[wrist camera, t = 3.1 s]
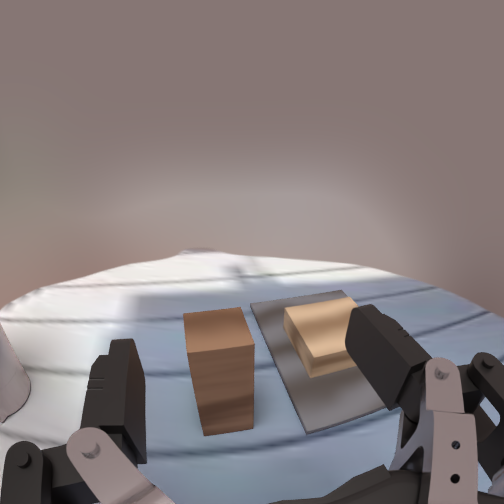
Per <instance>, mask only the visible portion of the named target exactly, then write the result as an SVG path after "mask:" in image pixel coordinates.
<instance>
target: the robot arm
mask: <svg viewBox="0 0 504 504" xmlns="http://www.w3.org/2000/svg"><path fill="white" fill-rule="evenodd" d="M345 347H346V350H347V352H348V354H349V355H350V357H351V358H352V360H353V361H354V362H355V364H356V365H357V367H358V368H359V369H360V371H361V372H362V373H363V375H364V376H365V378H366V379H367V380H368V382H369V383H370V385H371V386H372V387H373V389H374V390H375V392H376V393H377V394H378V396H379V397H380V399H381V400H382V401H383V403H384V404H385V406H386V407H387V409H388V410H389V411H391V410H393V409H395V408H397V407H401V408H402V412H401V414H400V420H399V429H398V438H397V445H396V452H395V456H394V459H393V461H392V463H391V465H390V468H389V471H388V470H387V469H386V467H385V466H384V464H383V465H381V466H379V467H376V468H374V469H372V470H370V471H367V472H365V473H363V474H360V475H358V476H355V477H353V478H352V479H350V480H349V481H348V482H346V483H345V484H343V485H342V486H340V487H339V488H337V489H336V490H334V491H333V492H331V493H329V494H328V495H326V496H324V497H321V498H311V499H298V500H282V501H278V502H273V503H269V504H504V365H503V364H502V363H501V362H500V361H499V360H498V359H497V358H496V357H494V356H493V355H491V354H489V353H485V352H481V353H477V354H476V355H475V356H474V358H473V359H472V361H471V363H470V364H468V365H461V366H456V365H455V364H454V363H453V362H451V361H450V360H448V359H445V358H432V357H431V356H430V355H429V354H428V353H427V352H426V351H425V350H424V349H423V348H422V347H421V346H420V345H419V344H418V343H417V342H416V341H415V340H414V339H413V338H412V337H411V336H409V334H408V333H407V332H406V331H405V330H403V327H402V326H401V325H400V324H399V323H398V322H397V321H396V320H394V319H392V318H390V317H389V316H387V315H385V314H382V313H381V312H380V311H379V310H378V309H377V308H376V307H375V306H374V305H372V304H369V305H364V306H360V307H355V308H353V309H352V311H351V314H350V319H349V323H348V328H347V332H346V337H345ZM87 389H88V390H87V391H86V396H85V402H84V408H83V414H82V420H81V426H80V429H79V430H78V431H76V432H75V433H73V434H72V435H71V437H70V438H69V440H68V442H67V444H65V445H62V446H58V447H53V448H49V449H44V450H40V449H39V448H38V447H37V446H36V445H35V444H33V443H31V442H28V441H21V442H18V443H15V444H14V445H13V446H11V447H10V448H9V450H8V452H7V454H6V457H5V464H4V470H3V478H2V487H1V497H0V504H94V503H98V502H101V503H102V504H175V503H174V502H173V501H172V500H171V499H170V498H169V497H167V496H166V495H165V494H164V493H163V492H162V491H161V490H160V489H159V488H158V487H156V486H155V485H153V484H152V483H151V482H150V481H149V480H148V479H147V478H146V477H145V476H144V475H143V474H142V473H141V472H140V471H139V470H138V466H137V464H147V456H146V426H145V377H144V372H143V368H142V365H141V362H140V359H139V355H138V352H137V349H136V345H135V342H134V340H133V339H117V340H112V341H111V344H110V349H109V354H108V355H99V357H98V358H97V359H96V361H95V362H94V363H93V365H92V366H91V371H90V376H89V381H88V386H87ZM29 393H30V380H29V377H28V376H27V374H26V372H25V371H24V369H23V367H22V365H21V363H20V362H19V360H18V358H17V356H16V354H15V352H14V350H13V348H12V346H11V344H10V342H9V340H8V338H7V336H6V334H5V332H4V330H3V328H2V326H1V323H0V422H4V420H5V419H6V417H7V416H9V415H11V414H13V413H14V412H16V411H17V410H18V409H20V408H21V406H22V405H23V404H24V403H25V401H26V400H27V398H28V395H29ZM485 397H486V398H487V399H488V400H489V401H490V403H491V404H492V405H493V406H494V407H495V409H496V410H497V411H498V413H499V414H500V422H499V424H498V426H495V424H494V423H493V422H492V420H491V419H490V418H489V417H488V415H487V414H486V413H485V412H484V410H483V409H482V408H481V407H480V403H481V402H482V400H483V399H484V398H485ZM478 462H479V463H480V465H481V466H482V468H483V469H484V471H485V472H486V474H487V475H488V477H489V478H490V480H491V481H492V486H490V487H489V489H488V493H484V492H480V491H477V489H478Z"/></svg>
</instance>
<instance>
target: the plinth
mask: <svg viewBox="0 0 504 504" xmlns="http://www.w3.org/2000/svg"><path fill="white" fill-rule="evenodd" d="M250 307H251V309H252V311H253V314H254V316H255V318H256V321H257V323H258V326H259V328H260V330H261V333H262V335H263V337H264V340H265V342H266V344H267V346H268V349H269V351H270V353H271V356H272V358H273V360H274V363H275V365H276V367H277V369H278V372H279V374H280V376H281V379H282V381H283V383H284V385H285V388H286V390H287V392H288V394H289V397H290V399H291V401H292V403H293V406H294V408H295V410H296V412H297V415H298V417H299V419H300V421H301V423H302V426H303V428H304V430H305V432H306V434H310V433H314V432H317V431H320V430H324V429H327V428H330V427H334V426H337V425H340V424H343V423H346V422H349V421H352V420H354V419H357V418H360V417H363V416H365V415H368V414H371V413H373V412H376V411H378V410H381V409H383V408H386V406H385V404H384V403H383V401H382V400H381V399H380V397H379V396H378V394H377V393H376V392H375V390H374V389H373V387H372V386H371V385H370V383H369V382H368V380H367V379H366V378H365V376H364V375H363V373H362V372H361V371H360V369H359V368H358V367H357V365H356V364H355V362H354V361H353V360H352V358H351V357H350V355H349V354H348V352H347V350H346V347H345V337H346V332H347V328H348V323H349V319H350V314H351V311H352V309H353V308H355V307H358V305H357V304H356V303H355V302H354V301H353V300H352V299H351V298H350V297H348V296H347V295H346V294H345V293H344V292H343V291H342V290H338V291H332V292H326V293H320V294H313V295H307V296H300V297H294V298H287V299H280V300H273V301H265V302H258V303H250Z"/></svg>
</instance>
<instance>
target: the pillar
mask: <svg viewBox="0 0 504 504" xmlns="http://www.w3.org/2000/svg"><path fill="white" fill-rule="evenodd" d="M183 317H184V328H185V339H186V349H187V356H188V362H189V367H190V372H191V378H192V383H193V388H194V393H195V398H196V402H197V407H198V412H199V416H200V421H201V425H202V430H203V434H204V436H209V435H217V434H224V433H230V432H237V431H243V430H248V429H253V413H254V349H255V344H254V341H253V339H252V336H251V333H250V331H249V328H248V326H247V323H246V320H245V318H244V315H243V312H242V310H241V307H237V308H229V309H221V310H212V311H203V312H194V313H184V314H183Z"/></svg>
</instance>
